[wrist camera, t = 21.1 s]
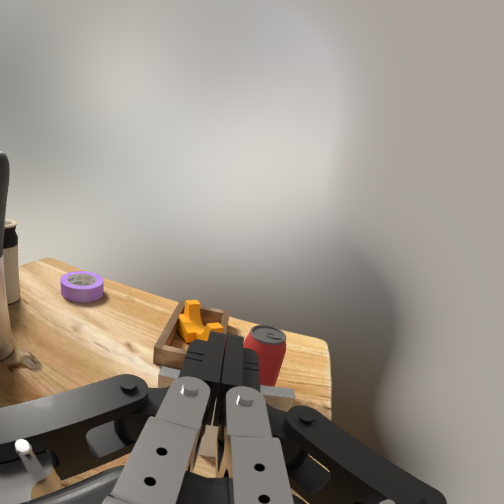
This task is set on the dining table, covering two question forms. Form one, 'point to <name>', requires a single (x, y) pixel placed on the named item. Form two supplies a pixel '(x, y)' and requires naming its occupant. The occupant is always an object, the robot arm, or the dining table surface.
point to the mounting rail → (272, 395)
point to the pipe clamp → (195, 323)
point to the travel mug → (11, 262)
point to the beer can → (267, 351)
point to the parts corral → (162, 349)
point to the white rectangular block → (209, 440)
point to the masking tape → (82, 286)
